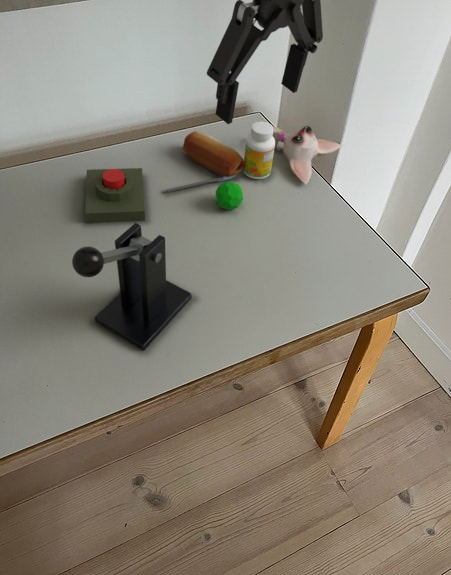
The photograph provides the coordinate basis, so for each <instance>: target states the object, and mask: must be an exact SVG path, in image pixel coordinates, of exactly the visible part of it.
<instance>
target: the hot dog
mask: <svg viewBox="0 0 451 575" xmlns="http://www.w3.org/2000/svg"><path fill="white" fill-rule="evenodd" d="M182 149H183V151H184V153H185V155H186V156H187V157H188V158H189V159H191V160H192V161H194V162H195V163H197V164H199V165H200V166H202V167H203V168H206V169H207V170H209V171H211V172H214V173H216V174H218V175H221V176H222V177H225V176H233V175H238V174H239V173H240V172H242V170H243V166H244V164H245V162H244V158H243V157H242V156H241V154H240V153H239V152H238V151H237V150H236V149H235V148H233V147H231V146H229V145H228V144H226V143H225V142H222V141H221V140H219V139H217V138H215V137H214V136H211V135H208V134H207V133H204V132H201V131H197V130H195V131H192V132H190V133H189V134H187V135H186V136H185V138H184V141H183V146H182Z"/></svg>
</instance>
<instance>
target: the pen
mask: <svg viewBox="0 0 451 575" xmlns="http://www.w3.org/2000/svg"><path fill="white" fill-rule="evenodd" d="M237 176H238V174H236V175H233V176H221V177H217V178H211V179H208V180H204V181H199V182H194V183H189V184H186V185H182V186H177V187H173V188H168V189H166V193H172V192H175V191H181V190H185V189H188V188H193V187H197V186H202V185H207V184H211V183H215V182H217V183H220V182H225V181H228V180H232V179H233V178H235V177H237Z"/></svg>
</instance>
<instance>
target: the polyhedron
mask: <svg viewBox="0 0 451 575" xmlns="http://www.w3.org/2000/svg"><path fill="white" fill-rule="evenodd" d="M215 199H216V204H217V205H218V206H219V207H220V208H222V209H224V210H231V211H232V210H235V209H237V208H239V207H240V205H241V204H242V202H243V201H244V195H243V187H241V185H239V183H236V182H232V181H228V180H225V181H223V182H222V183H220V184H219V185H218V186H217V188H216V190H215Z"/></svg>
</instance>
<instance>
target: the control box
mask: <svg viewBox="0 0 451 575" xmlns="http://www.w3.org/2000/svg"><path fill="white" fill-rule="evenodd" d="M109 169H110V168H97V169H96V168H95V169H86V176H85V178H86V179H85V203H84V206H85V208H84V213H85V214H84V215H85V222H86V223H87V224H94V223H96V224H97V223H115V222H116V223H117V222H118V223H119V222H140V221H141V222H142V221H143V222H144V221H146V208H145V207H146V206H145V192H144V190H145V189H144V178H143V177H144V176H143V168H142V167H132V168H131V167H130V168H129V167H128V168H117V169H118V170H121V171H122V172H123V173H124V181H125V184H124V186H123V187H121V188H119V189H109V188H106V187H105V186H104V182H103V173H104V172H105V171H107V170H109Z"/></svg>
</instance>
